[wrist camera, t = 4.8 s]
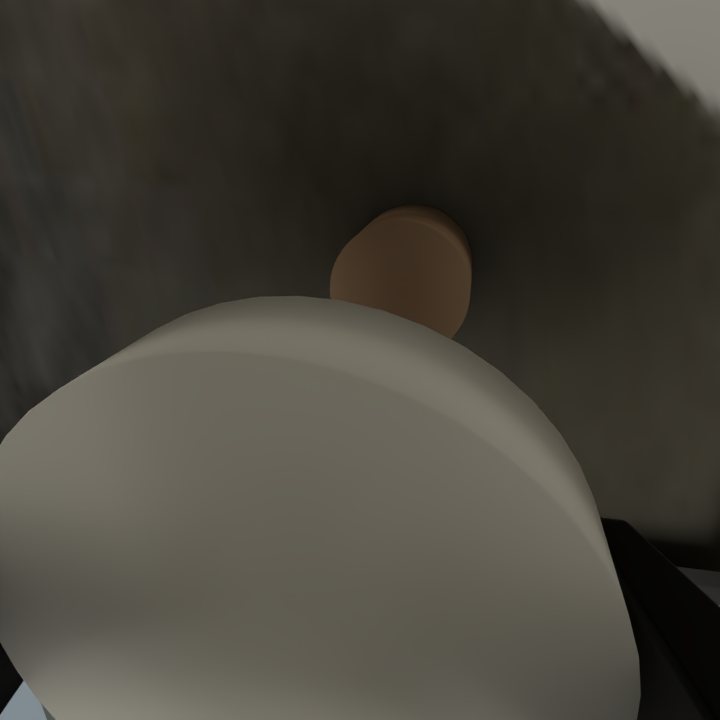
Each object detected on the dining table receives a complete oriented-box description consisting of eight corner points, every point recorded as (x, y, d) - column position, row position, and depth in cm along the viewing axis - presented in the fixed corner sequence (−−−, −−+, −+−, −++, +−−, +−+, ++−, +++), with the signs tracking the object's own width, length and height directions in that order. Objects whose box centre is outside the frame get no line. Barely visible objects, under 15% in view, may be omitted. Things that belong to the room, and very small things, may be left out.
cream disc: (658, 311, 5) (727, 383, 4) (564, 782, 8) (581, 929, 6) (15, 283, 6) (-119, 328, 5) (123, 692, 9) (56, 797, 8)
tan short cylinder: (476, 204, 18) (474, 222, 14) (468, 323, 19) (466, 362, 16) (353, 203, 18) (326, 220, 15) (356, 317, 20) (332, 354, 17)
